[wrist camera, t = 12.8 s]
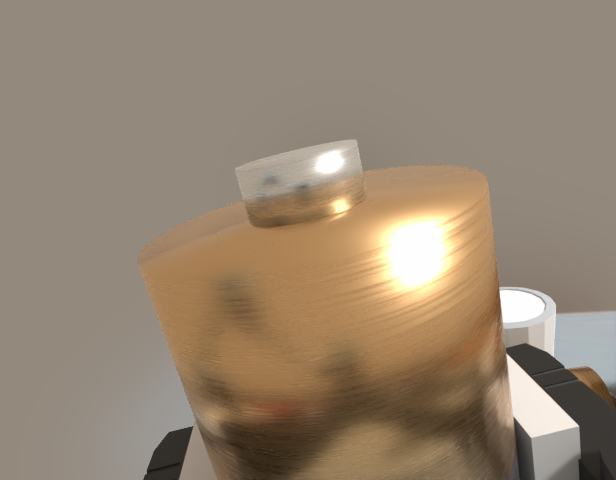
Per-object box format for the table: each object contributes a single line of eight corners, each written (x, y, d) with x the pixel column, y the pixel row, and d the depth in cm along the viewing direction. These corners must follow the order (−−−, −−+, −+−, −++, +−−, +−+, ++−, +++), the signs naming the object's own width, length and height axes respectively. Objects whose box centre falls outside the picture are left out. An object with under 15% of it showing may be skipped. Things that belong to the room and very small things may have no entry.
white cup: (458, 363, 39) (448, 295, 37) (533, 348, 38) (527, 279, 36) (490, 414, 32) (480, 335, 30) (581, 396, 32) (576, 315, 30)
